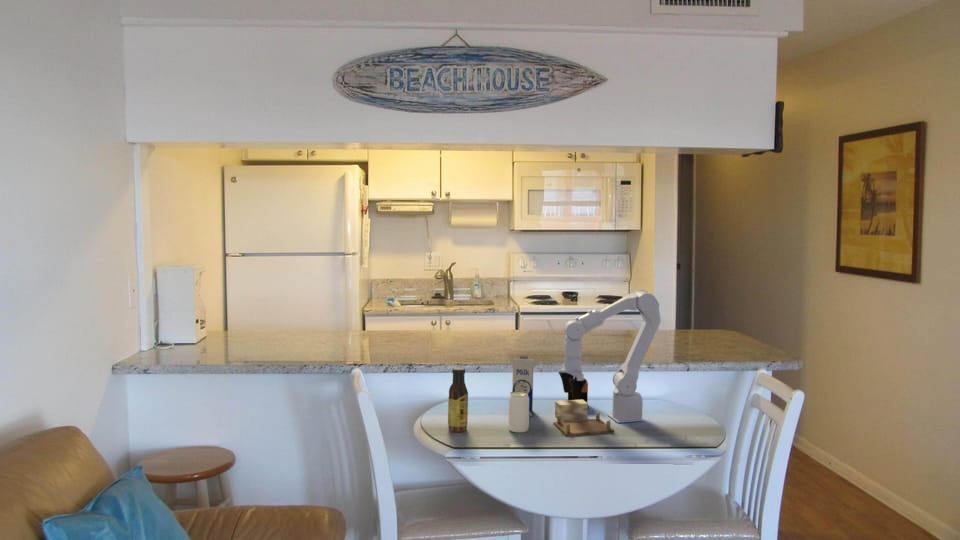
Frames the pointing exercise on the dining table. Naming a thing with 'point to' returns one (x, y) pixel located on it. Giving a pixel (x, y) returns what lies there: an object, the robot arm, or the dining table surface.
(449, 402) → the sauce bottle
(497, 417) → the dining table surface
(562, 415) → the block
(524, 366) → the milk carton
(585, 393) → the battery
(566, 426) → the chassis
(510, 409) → the can
